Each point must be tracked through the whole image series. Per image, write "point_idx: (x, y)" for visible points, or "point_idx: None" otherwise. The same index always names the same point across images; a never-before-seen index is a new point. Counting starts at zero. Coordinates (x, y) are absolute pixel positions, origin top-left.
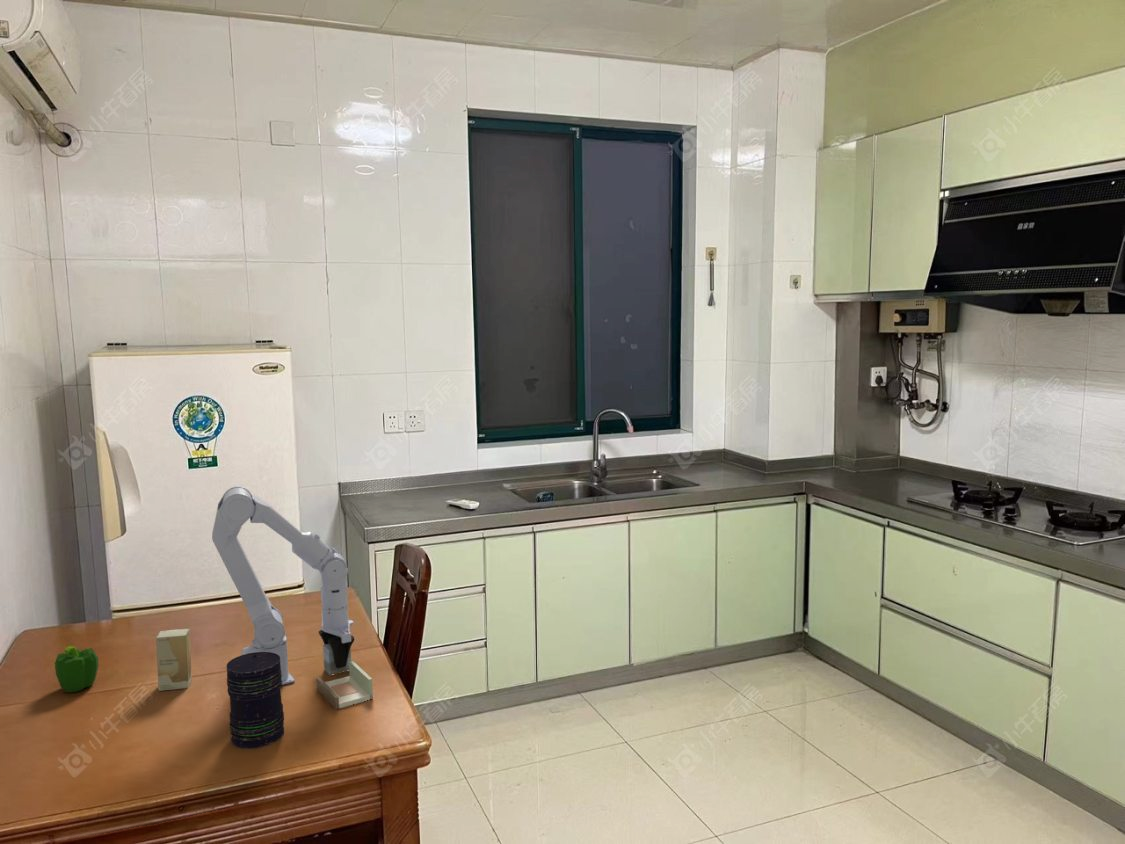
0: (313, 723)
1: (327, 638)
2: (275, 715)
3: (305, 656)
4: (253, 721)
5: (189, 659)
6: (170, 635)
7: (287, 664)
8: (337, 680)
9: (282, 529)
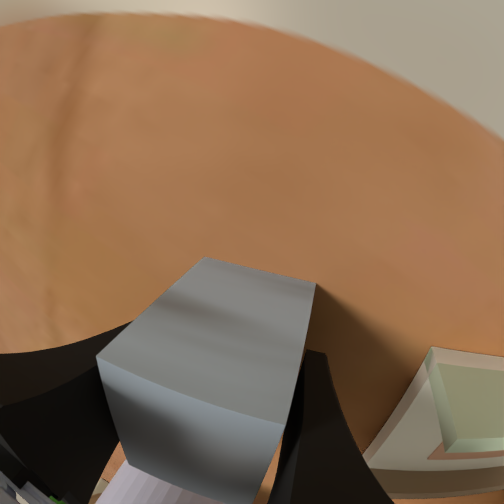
0: (494, 493)
1: (91, 466)
2: None
3: (44, 310)
4: None
5: None
6: None
7: (184, 501)
8: (409, 428)
9: None
